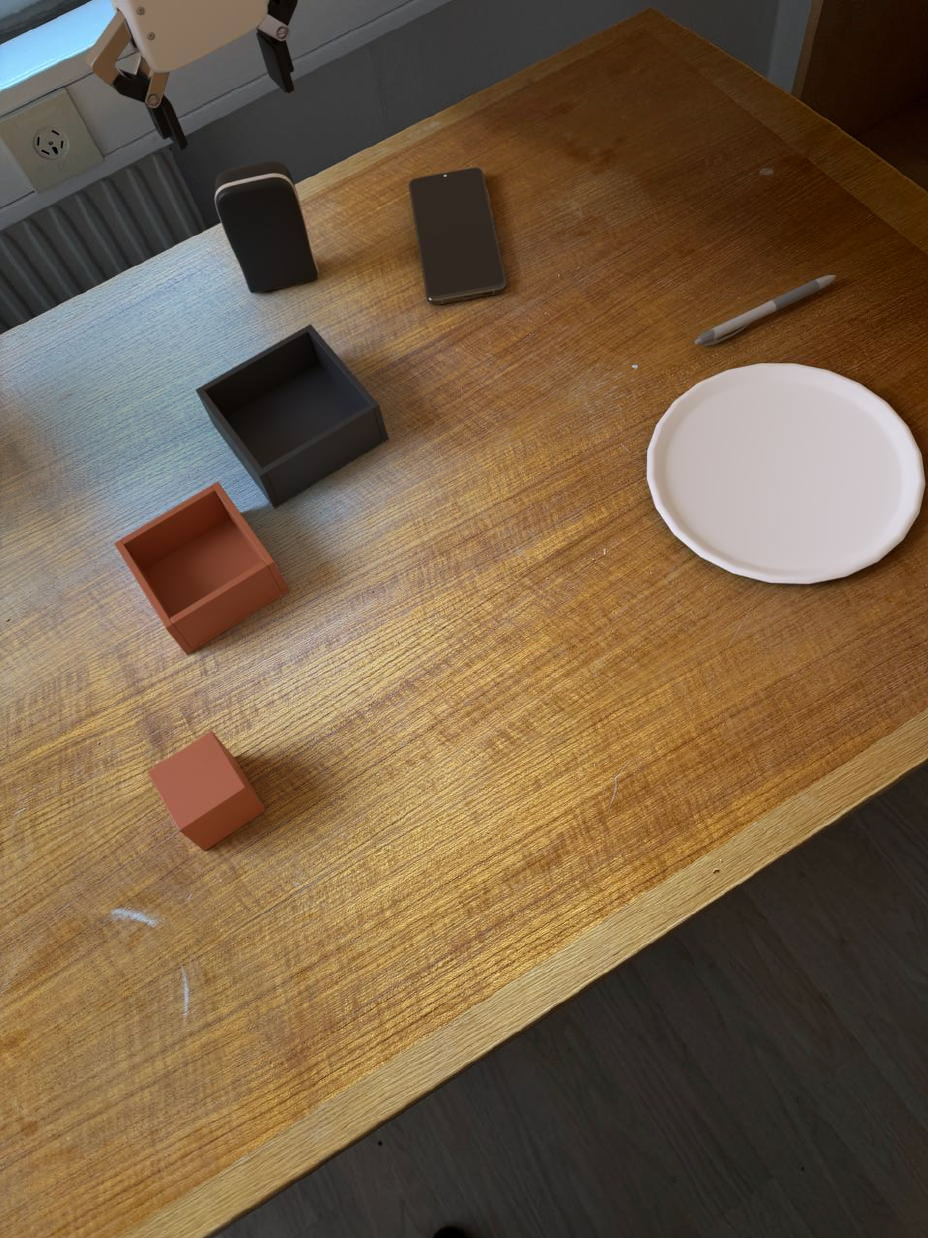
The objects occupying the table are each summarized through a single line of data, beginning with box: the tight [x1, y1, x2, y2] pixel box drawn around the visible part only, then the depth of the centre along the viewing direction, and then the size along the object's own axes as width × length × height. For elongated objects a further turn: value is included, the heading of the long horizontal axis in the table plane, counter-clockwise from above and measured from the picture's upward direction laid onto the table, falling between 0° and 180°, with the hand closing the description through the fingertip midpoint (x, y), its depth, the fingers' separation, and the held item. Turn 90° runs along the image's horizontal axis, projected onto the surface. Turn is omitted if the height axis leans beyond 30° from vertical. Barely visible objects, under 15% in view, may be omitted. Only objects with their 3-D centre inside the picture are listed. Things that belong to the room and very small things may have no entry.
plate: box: [646, 362, 926, 586], centre depth 80 cm, size 21×21×1 cm
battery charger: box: [214, 159, 320, 294], centre depth 92 cm, size 7×4×11 cm, turn 101°
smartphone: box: [408, 166, 508, 306], centre depth 96 cm, size 7×1×16 cm
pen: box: [694, 274, 837, 347], centre depth 88 cm, size 1×14×1 cm, turn 117°
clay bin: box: [113, 481, 290, 655], centre depth 80 cm, size 9×9×4 cm
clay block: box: [147, 730, 267, 852], centre depth 71 cm, size 5×5×5 cm
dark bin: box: [195, 323, 390, 509], centre depth 86 cm, size 11×11×4 cm
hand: (230, 111), depth 82 cm, fingers open, 9 cm apart
